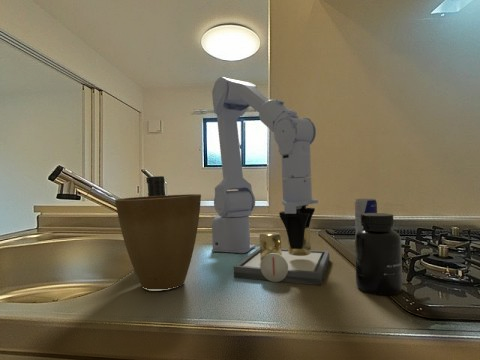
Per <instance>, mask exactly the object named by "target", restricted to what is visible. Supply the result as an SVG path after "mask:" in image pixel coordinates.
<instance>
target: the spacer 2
mask: <svg viewBox="0 0 480 360" xmlns="http://www.w3.org/2000/svg"><path fill="white" fill-rule="evenodd" d="M287 244H288V245H287V247H288V248H287V249H288V252H289V254H290V255H295V256H305V255H310V254H311V250H312V247H311V227H310V226H309V227H305V233H304V243H303V247H302V249H291V246H290V243H289V239H288V238H287Z"/></svg>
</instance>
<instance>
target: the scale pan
mask: <svg viewBox="0 0 480 360" xmlns="http://www.w3.org/2000/svg"><path fill="white" fill-rule="evenodd" d="M282 256H283V257H284V258H285V260H286V261H287V264H288V269H289V270H302V271H315V270H316V268H317V266H318V264H319V261H320V259H321V257H322V253H311V254H310V255H305V256H295V255H290V254H289V252H288V251H282ZM261 261H262V260H261V259H260V253H259V254H258V255H256V256H255V257H254V258H253V259H251V260H250V261H249V262H248V263H246V264H245V265H244V266H249V267H260V265H261Z"/></svg>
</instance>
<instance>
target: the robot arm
mask: <svg viewBox="0 0 480 360" xmlns="http://www.w3.org/2000/svg"><path fill="white" fill-rule="evenodd" d="M211 97H212V105H213V112H214V113H215V115H216V121H217V130H218V141H219V149H220V151H219V152H220V159H221V161H220V162H221V169H222V180H221V181H220V182H219V183H218V184H217V185H216V186H215V187H214V198H213V206H214V210H215V211H216V213H217V214H218V215H217V216H215V217H214V218H213V219H212V225H211V235H212V236H211V239H212V240H211V241H212V249H211V252H216V253H217V252H218V253H234V254H235V253H236V254H247V252H249V251H251V250H253V248H255V247H256V245H255V244H251V237H250V216H251V215H252V212H253V211H254V209H255V206H256V198H255V195H254V193H253V189H252V184H251V183H250V182H249V181H247V180H246V178H244V175H243V173H244V172H243V165H242V156H241V148H240V137H239V130H238V119H239V118H240V117H243V116H244V115H245V113H246V112H247V110H248V109H249V108H252V109H253V110H255V111H256V112H257V113H258V116H259V117H258V118H259V120H260V122H261V123H263V125H265V126H266V127H267V128H268V129H269V130H270V131H271V132H273V137H274V141H275V142H276V145H277V147H278V153H279V155H280V156H281V158H280V159H281V180H282V181H281V182H282V185H281V186H282V200H281V204H282V205H283V207H284V211H282V210H281V211H279V212H278V215H279V218H280V220H281V222H282V223H283V226H284V228H285V231H286V234H287V240H288V239H289V243H290V246H291V249H302V247H303V243H304V233H305V227H310V226H311V225H310V224H311V221H312V218H313V215H314V213H315V211H316V209H315V207H309V205H313V204H318V203H319V199H317V198H315V199H313V193H312V191H313V190H312V163H311V145H312V144H313V142H314V140H315V138H316V134H317V131H316V130H317V129H316V125H315V123H314V122H313V121H312V120H311V118H309V117H302V118H301V117H299V116H298V112H297V111H295V110H292V109H290V108H288V107H287V106H286V105H285V101H283V100H282V99H280V98H279V99H278V98H276V99H269V98H267V97H266V95H264V94H263V93H262V92H261V91H260V90H259V89H258V86H257V85H256V84H253V82H250V81H243V80H238V79H233V78H227V77H224V76H219V77H218V78H217V80H215V83H214V84H213V88H212V90H211Z"/></svg>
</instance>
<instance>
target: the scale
mask: <svg viewBox="0 0 480 360" xmlns="http://www.w3.org/2000/svg"><path fill="white" fill-rule="evenodd" d="M281 251H288V248H281ZM259 253H260V247H258V248H256V250H254V251H253V252H252V253H249V255H247V256H246V257H244V258H243V259H241V260H240V261H239V262H238V263H237V264H234V266H233V277H234V278H238V279H239V278H240V279H249V280H250V279H251V280H259V281H260V280H261V281H270V282H274V283H277V282H283V283H294V284H306V285H317V286H318V285H319V286H322V283H323V281H324V277H325V274H326V273H327V272H326V271H327V268H328V266H329V264H330V263H329V262H330V251H329V250H315V249H314V250H313V249H311V253H322V257H321V259H320V261H319V264H318V266H317V268H316V270H315V271H302V270H289V269H288V264H287V261H286V260H285V258H284V257H283V256H281V255H279V254H277V253H270V254H267V255H266V256H265V257H264V258H263V259H262V261H261V265H260V267H249V266H244V265H245V264H246V263H248V262H249V261H250V260H251V259H253V258H254V257H255V256H256V255H258V254H259Z"/></svg>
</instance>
